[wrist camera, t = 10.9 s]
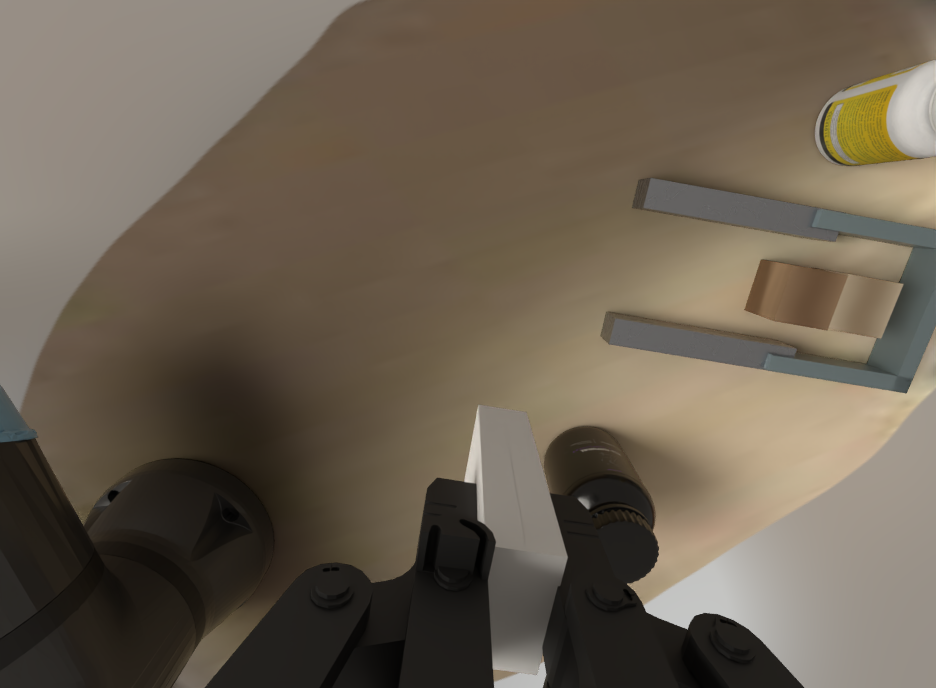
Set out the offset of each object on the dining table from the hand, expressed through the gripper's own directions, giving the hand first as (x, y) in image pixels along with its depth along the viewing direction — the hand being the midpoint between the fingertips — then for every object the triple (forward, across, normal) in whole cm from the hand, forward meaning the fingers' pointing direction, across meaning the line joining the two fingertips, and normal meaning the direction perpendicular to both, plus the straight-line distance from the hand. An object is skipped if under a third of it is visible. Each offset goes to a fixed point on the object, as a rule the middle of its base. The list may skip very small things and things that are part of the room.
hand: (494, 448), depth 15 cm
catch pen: (+24, +28, +5) cm, 37 cm away
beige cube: (+24, +27, +5) cm, 37 cm away
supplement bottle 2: (+25, +24, +17) cm, 38 cm away
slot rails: (+24, +17, +5) cm, 30 cm away
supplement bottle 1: (+25, +11, -12) cm, 30 cm away
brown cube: (+24, +23, +5) cm, 34 cm away
